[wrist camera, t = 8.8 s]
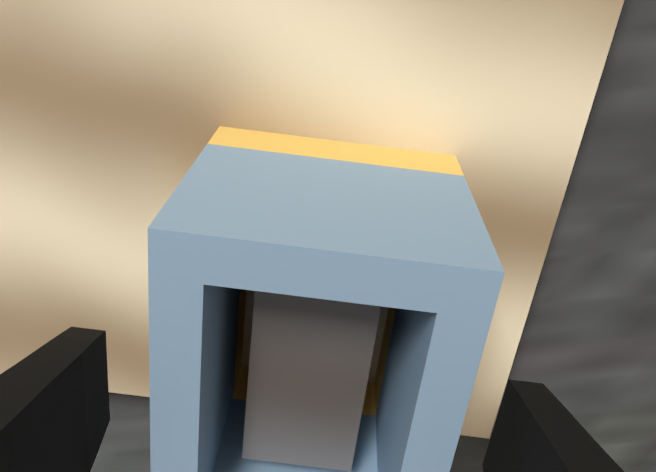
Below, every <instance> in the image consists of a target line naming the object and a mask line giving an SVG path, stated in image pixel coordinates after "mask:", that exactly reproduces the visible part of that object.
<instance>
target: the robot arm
mask: <svg viewBox="0 0 656 472" xmlns="http://www.w3.org/2000/svg"><path fill="white" fill-rule="evenodd" d="M109 421H110V413H109V391H108V369H107V348H106V331H104V330H96V329H88V328H79V327H70V328H68V329H67V330H65V331H64V332H62V333H61V334H59V335H58V336H56V337H55V338H53V339H52V340H50V341H49V342H47V343H46V344H44V345H43V346H41V347H40V348H38V349H37V350H36V351H34V352H33V353H31V354H30V355H28V356H27V357H25V358H24V359H22V360H21V361H19V362H18V363H17V364H15V365H14V366H12V367H11V368H9V369H8V370H6V371H5V372H3V373H1V374H0V472H90V471H91V468H92V466H93V463H94V461H95V458H96V455H97V453H98V450H99V448H100V445H101V442H102V440H103V437H104V434H105V431H106V429H107V426H108V423H109ZM483 470H484V472H624V471H623V470H622V469H621V468H620V467H619V466H618V465H617V464H616V463H615V462H614V460H613V459H612V458H611V457H610V456H609V455H608V454H607V453H606V452H605V451H604V450H603V449H602V448H601V447H600V445H599V444H598V443H597V442H596V441H595V440H594V439H593V438H592V437H591V436H590V435H589V433H588V432H587V431H586V430H585V429H584V428H583V427H582V426H581V425H580V424H579V422H578V421H577V420H576V419H575V418H574V417H573V416H572V415H571V414H570V412H569V411H568V410H567V409H566V408H565V407H564V406H563V405H562V404H561V402H560V401H559V400H558V399H557V398H556V397H555V396H554V395H553V394H552V393H551V392H550V391H549V390H548V389H547V388H546V386H545V385H544V384H541V383H533V382H525V381H517V380H509V381H508V384H507V387H506V390H505V394H504V397H503V400H502V403H501V407H500V410H499V413H498V416H497V420H496V423H495V426H494V429H493V433H492V436H491V439H490V442H489V446H488V449H487V452H486V455H485V459H484V462H483Z"/></svg>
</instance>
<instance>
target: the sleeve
mask: <svg viewBox="0 0 656 472" xmlns="http://www.w3.org/2000/svg"><path fill="white" fill-rule="evenodd" d="M504 274H505V271H504V269H503V266H502V264H501V262H500V259H499V257H498V255H497V252H496V250H495V248H494V245H493V243H492V241H491V238H490V236H489V233H488V231H487V229H486V226H485V224H484V222H483V219H482V217H481V215H480V212H479V210H478V208H477V205H476V203H475V200H474V198H473V196H472V193H471V191H470V189H469V186H468V184H467V182H466V179H465V177H464V175H463V172H462V170H461V167H460V165H459V163H458V160H457V158H456V156H453V155H445V154H437V153H429V152H421V151H413V150H405V149H397V148H389V147H381V146H373V145H365V144H358V143H350V142H342V141H334V140H326V139H318V138H310V137H302V136H294V135H286V134H278V133H270V132H262V131H254V130H246V129H238V128H230V127H222V126H219V128H218V129H217V131H216V132H215V133H214V135H213V136H212V138H211V139H210V141H209V142H208V143H207V145H206V146H205V148H204V149H203V150H202V152H201V153H200V155H199V156H198V158H197V159H196V160H195V162H194V163H193V165H192V166H191V167H190V169H189V170H188V172H187V173H186V174H185V176H184V177H183V179H182V180H181V182H180V183H179V184H178V186H177V187H176V189H175V190H174V191H173V193H172V194H171V196H170V197H169V198H168V200H167V201H166V203H165V204H164V206H163V207H162V208H161V210H160V211H159V213H158V214H157V215H156V217H155V218H154V220H153V221H152V222H151V224H150V225H149V227H148V299H149V377H150V454H151V472H450V469H451V465H452V462H453V458H454V454H455V451H456V447H457V444H458V440H459V436H460V433H461V429H462V425H463V422H464V418H465V415H466V411H467V407H468V404H469V400H470V397H471V393H472V389H473V386H474V382H475V379H476V375H477V371H478V368H479V364H480V360H481V357H482V353H483V350H484V346H485V342H486V339H487V335H488V332H489V328H490V324H491V321H492V317H493V314H494V310H495V306H496V303H497V299H498V296H499V292H500V288H501V285H502V281H503V277H504ZM247 290H252V291H260V292H268V293H276V294H285V295H293V296H301V297H309V298H317V299H325V300H333V301H341V302H350V303H358V304H366V305H374V306H382V307H389V308H388V313H387V319H386V324H385V329H384V335H383V340H382V345H381V351H380V356H379V361H378V366H377V372H376V377H375V382H374V383H372V382H367V387H366V393H365V398H364V404H363V409H362V415H361V420H360V426H359V431H358V436H357V442H356V447H355V453H354V458H353V464H352V469H351V471H343V470H334V469H326V468H318V467H310V466H301V465H293V464H285V463H277V462H268V461H260V460H252V459H244V458H242V451H243V438H244V425H245V412H246V399H247V386H248V372H249V367H242V352H243V337H244V323H245V308H246V293H247Z"/></svg>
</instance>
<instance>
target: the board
mask: <svg viewBox="0 0 656 472" xmlns="http://www.w3.org/2000/svg"><path fill="white" fill-rule="evenodd" d="M623 3H624V0H0V374H1V373H3V372H5V371H6V370H8V369H9V368H11V367H12V366H14V365H15V364H17V363H18V362H19V361H21V360H22V359H24V358H25V357H27V356H28V355H30V354H31V353H33V352H34V351H36V350H37V349H38V348H40V347H41V346H43V345H44V344H46V343H47V342H49V341H50V340H52V339H53V338H55V337H56V336H58V335H59V334H61V333H62V332H64V331H65V330H67V329H68V328H70V327H79V328H88V329H96V330H104V331H106V348H107V369H108V391H109V392H112V393H120V394H128V395H136V396H144V397H150V377H149V299H148V227H149V225H150V224H151V222H152V221H153V220H154V218H155V217H156V215H157V214H158V213H159V211H160V210H161V208H162V207H163V206H164V204H165V203H166V201H167V200H168V198H169V197H170V196H171V194H172V193H173V191H174V190H175V189H176V187H177V186H178V184H179V183H180V182H181V180H182V179H183V177H184V176H185V174H186V173H187V172H188V170H189V169H190V167H191V166H192V165H193V163H194V162H195V160H196V159H197V158H198V156H199V155H200V153H201V152H202V150H203V149H204V148H205V146H206V145H207V143H208V142H209V141H210V139H211V138H212V136H213V135H214V133H215V132H216V131H217V129H218V128H219V126H222V127H230V128H238V129H246V130H254V131H262V132H270V133H278V134H286V135H294V136H302V137H310V138H318V139H326V140H334V141H342V142H350V143H358V144H365V145H373V146H381V147H389V148H397V149H405V150H413V151H421V152H429V153H437V154H445V155H453V156H456V158H457V160H458V163H459V165H460V167H461V170H462V172H463V175H464V177H465V179H466V182H467V184H468V186H469V189H470V191H471V193H472V196H473V198H474V200H475V203H476V205H477V208H478V210H479V212H480V215H481V217H482V219H483V222H484V224H485V226H486V229H487V231H488V233H489V236H490V238H491V241H492V243H493V245H494V248H495V250H496V252H497V255H498V257H499V259H500V262H501V264H502V266H503V269H504V271H505V274H504V277H503V281H502V285H501V288H500V292H499V296H498V299H497V303H496V306H495V310H494V314H493V317H492V321H491V324H490V328H489V332H488V335H487V339H486V342H485V346H484V350H483V353H482V357H481V360H480V364H479V368H478V371H477V375H476V379H475V382H474V386H473V389H472V393H471V397H470V400H469V404H468V407H467V411H466V415H465V418H464V422H463V425H462V429H461V433H460V435H464V436H472V437H480V438H488V439H489V438H490V435H491V432H492V428H493V425H494V422H495V419H496V415H497V412H498V409H499V406H500V403H501V399H502V396H503V393H504V390H505V386H506V383H507V380H508V377H509V373H510V370H511V367H512V364H513V360H514V357H515V354H516V351H517V347H518V344H519V341H520V338H521V334H522V331H523V328H524V325H525V321H526V318H527V315H528V312H529V308H530V305H531V302H532V299H533V295H534V292H535V289H536V286H537V282H538V279H539V276H540V273H541V269H542V266H543V263H544V260H545V256H546V253H547V250H548V247H549V243H550V240H551V237H552V234H553V230H554V227H555V224H556V221H557V217H558V214H559V211H560V208H561V204H562V201H563V198H564V195H565V191H566V188H567V185H568V182H569V178H570V175H571V172H572V169H573V165H574V162H575V159H576V156H577V152H578V149H579V146H580V143H581V139H582V136H583V133H584V130H585V126H586V123H587V120H588V117H589V113H590V110H591V107H592V104H593V100H594V97H595V94H596V91H597V87H598V84H599V81H600V78H601V74H602V71H603V68H604V65H605V61H606V58H607V55H608V52H609V48H610V45H611V42H612V39H613V35H614V32H615V29H616V26H617V22H618V19H619V16H620V13H621V9H622V6H623ZM388 308H389V307H382V306H374V305H366V304H358V303H350V302H341V301H333V300H325V299H317V298H309V297H301V296H293V295H285V294H276V293H268V292H260V291H252V290H247V293H246V308H245V323H244V337H243V352H242V367H249V372H248V386H247V399H246V412H245V425H244V438H243V451H242V458H244V459H252V460H260V461H268V462H277V463H285V464H293V465H301V466H310V467H318V468H326V469H334V470H343V471H351V469H352V464H353V458H354V453H355V447H356V442H357V436H358V431H359V426H360V420H361V415H362V409H363V404H364V398H365V393H366V387H367V382H372V383H374V382H375V377H376V372H377V366H378V361H379V356H380V351H381V345H382V340H383V335H384V329H385V324H386V319H387V313H388Z"/></svg>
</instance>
